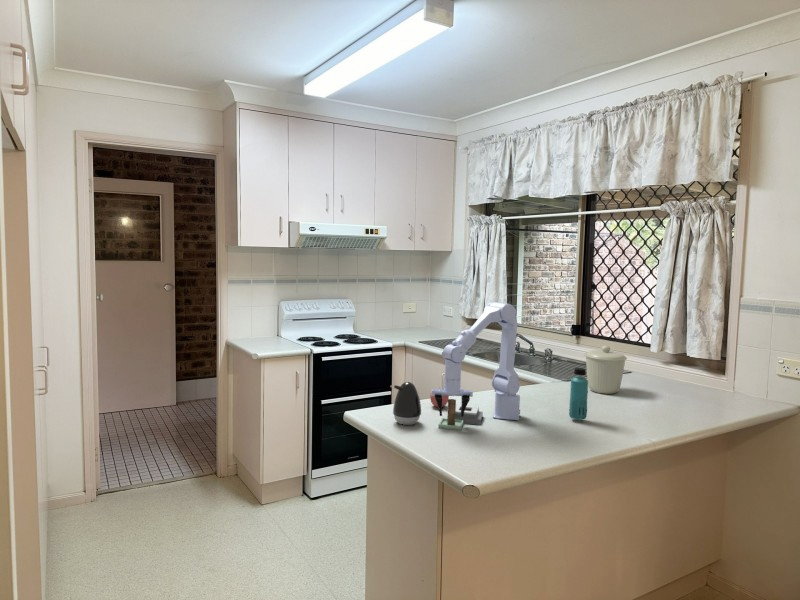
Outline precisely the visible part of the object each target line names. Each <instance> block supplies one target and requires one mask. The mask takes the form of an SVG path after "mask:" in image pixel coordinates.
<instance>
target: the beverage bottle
mask: <svg viewBox="0 0 800 600" xmlns="http://www.w3.org/2000/svg"><path fill="white" fill-rule="evenodd" d="M573 375H576V376H574V377H572V378H571V379H570V390H569V391H570V394H569V395H570V397H569V403H568V404H569V409H568V410H569V411H568V415H569V417H570V418H571V419H574V420H586V419H587V414H588V393H589V387H588V380H587V377H584V376H587V371H586V369H585V368H582V367H576V368H574V371H573Z"/></svg>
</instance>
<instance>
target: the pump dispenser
mask: <svg viewBox="0 0 800 600" xmlns="http://www.w3.org/2000/svg"><path fill="white" fill-rule="evenodd" d="M393 388H394V389H396V390H397V393H396V395H395V399H394V403H393V409H392V414H393V416H394V419H395V421H396V422H397V423H399V424H400V425H402V424H403V425H404V426H412V425H415V424H416V423H417V422H418V421H419V419H420V417H421V415H422V405H421V399H420V396H419V393H418V390H417V387H416V386H415V384H414V383H413V382H410V381H405V382H403V383H402V384H401V385H397V384H396V385H394V386H393Z"/></svg>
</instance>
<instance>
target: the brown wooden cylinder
mask: <svg viewBox="0 0 800 600" xmlns="http://www.w3.org/2000/svg"><path fill="white" fill-rule="evenodd" d="M456 405H457V399H454V398H449V399H448V402H447V416H448V417H447V416H446V417H447V425H452V426H454V425H455V412H456Z"/></svg>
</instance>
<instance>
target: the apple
mask: <svg viewBox="0 0 800 600" xmlns="http://www.w3.org/2000/svg"><path fill="white" fill-rule="evenodd" d="M438 389H441V388H440V387H439V388H438ZM429 397H430V402H431V404H432V405H433V406H434V407H436V408H439V407H438V404H437V401H436V399H435V396H432V391H431V392H430V395H429ZM449 397H450V396H442V408H443V407H445V406H447V405H448V399H450V398H449Z"/></svg>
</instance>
